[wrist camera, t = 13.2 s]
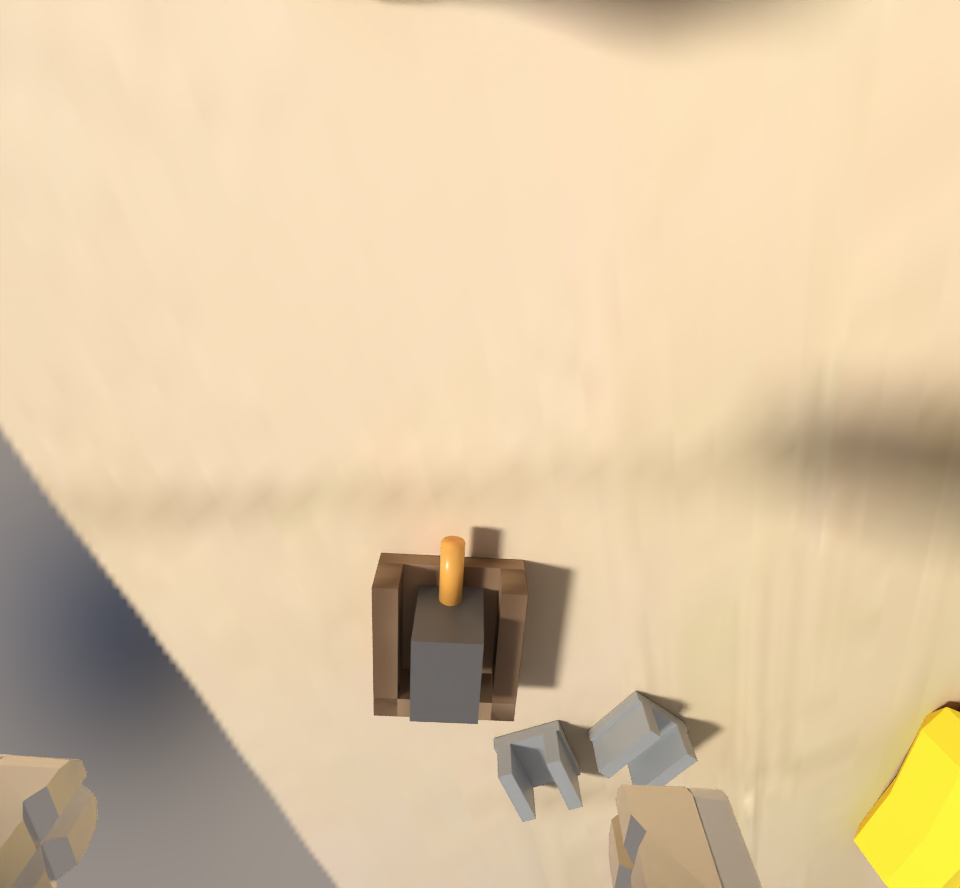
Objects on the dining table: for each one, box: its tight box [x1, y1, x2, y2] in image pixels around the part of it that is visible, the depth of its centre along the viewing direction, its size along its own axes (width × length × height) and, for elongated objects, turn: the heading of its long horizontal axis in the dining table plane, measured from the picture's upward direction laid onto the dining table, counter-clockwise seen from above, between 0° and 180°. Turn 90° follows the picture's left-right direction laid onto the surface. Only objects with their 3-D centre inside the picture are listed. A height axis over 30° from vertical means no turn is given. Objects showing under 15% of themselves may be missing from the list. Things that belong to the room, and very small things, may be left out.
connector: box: [410, 536, 484, 724], centre depth 35 cm, size 4×10×5 cm, turn 177°
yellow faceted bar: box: [854, 707, 960, 888], centre depth 43 cm, size 18×7×8 cm
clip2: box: [494, 720, 583, 822], centre depth 43 cm, size 5×5×3 cm
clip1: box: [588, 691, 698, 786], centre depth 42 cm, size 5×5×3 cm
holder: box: [372, 553, 528, 721], centre depth 38 cm, size 9×10×4 cm
